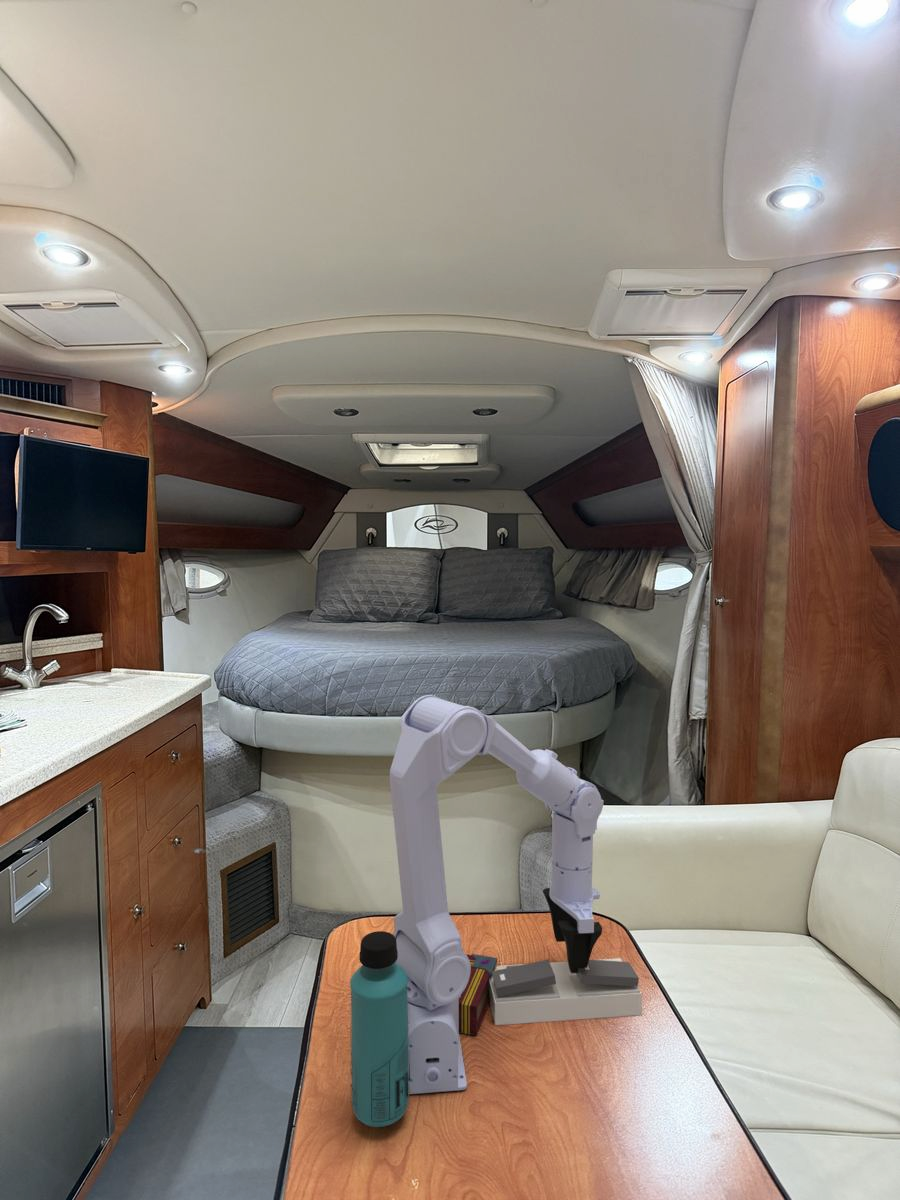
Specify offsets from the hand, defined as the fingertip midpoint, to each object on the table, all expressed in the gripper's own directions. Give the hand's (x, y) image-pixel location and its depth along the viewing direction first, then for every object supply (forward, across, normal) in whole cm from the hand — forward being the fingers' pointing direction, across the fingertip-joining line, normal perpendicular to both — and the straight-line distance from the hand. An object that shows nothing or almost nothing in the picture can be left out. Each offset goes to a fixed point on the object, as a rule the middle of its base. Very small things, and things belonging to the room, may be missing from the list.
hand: (569, 955), depth 93 cm
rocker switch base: (+5, -2, +2) cm, 6 cm away
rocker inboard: (+2, -4, +7) cm, 8 cm away
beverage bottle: (+6, -19, +27) cm, 33 cm away
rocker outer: (+2, -4, -4) cm, 6 cm away
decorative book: (+6, 0, +20) cm, 20 cm away
